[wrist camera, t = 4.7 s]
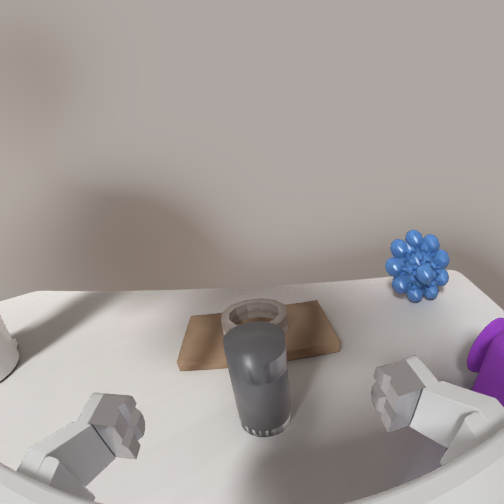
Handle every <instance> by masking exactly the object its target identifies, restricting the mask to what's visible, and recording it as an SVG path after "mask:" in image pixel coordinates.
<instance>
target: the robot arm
mask: <svg viewBox="0 0 504 504" xmlns="http://www.w3.org/2000/svg"><path fill="white" fill-rule="evenodd" d="M17 346H18V342H17V340H16V339H15V338H11V336H10V334H9V332H8V330H7V328H6V326H5V324H4V322H3V320H2V318H1V316H0V381H1V380H3V379H4V378H5V377H6V376H7V375H8V374H9V373H10V372H11V371H12V370H13V369H14V368H15V366H16V365H17V363H18V360H19V352H18V350H17ZM374 378H375V379H376V382H375V383H374V385H373V386H372V392H371V394H372V401H373V405H374V407H375V409H376V411H378V412H380V413H382V417H381V421H382V423H383V425H384V427H385V428H386V430H387V432H392V431H395V430H398V429H401V428H404V427H406V426H409V425H410V427H411V428H413V429H415V430H416V431H418V432H420V433H421V434H423V435H425V436H426V437H428V438H430V439H432V440H433V441H435V442H437V443H439V444H440V445H442V446H444V447H446V448H447V450H446V452H445V454H444V455H443V457H442V458H441V460H440V464H441V467H439V468H437V469H435V470H433V471H431V472H429V473H427V474H425V475H423V476H420V477H418V478H416V479H414V480H411V481H409V482H406V483H404V484H402V485H399V486H396V487H394V488H391V489H388V490H386V491H383V492H380V493H377V494H374V495H371V496H368V497H365V498H361V499H358V500H354V501H351V502H347V503H343V504H504V407H503V406H502V405H501V404H500V403H499V401H498V400H497V399H496V398H493V397H490V396H487V395H484V394H481V393H477V392H474V391H471V390H468V389H465V388H462V387H459V386H456V385H453V384H451V383H448V382H445V381H441V382H439V381H438V380H437V379H436V377H435V376H434V375H433V374H432V373H431V372H430V370H429V369H428V368H427V367H426V366H425V364H424V363H423V362H422V361H421V360H420V359H419V357H417V356H412V357H409V358H406V359H403V360H400V361H397V362H394V363H390V364H387V365H384V366H380V367H377V368H376V370H375V373H374ZM135 406H136V402H135V400H134V398H133V397H132V396H129V395H116V394H103V393H93V394H92V395H91V396H90V398H89V400H88V402H87V403H86V405H85V407H84V409H83V411H82V412H81V414H80V416H79V418H78V420H77V421H76V422H71V423H70V424H68V425H67V426H65V427H63V428H62V429H60V430H59V431H57V432H55V433H54V434H52V435H50V436H49V437H47V438H45V439H44V440H42V441H40V442H39V443H37V444H35V445H34V446H32V447H30V448H29V450H28V451H27V453H26V455H25V457H24V458H23V460H22V462H21V464H20V466H19V467H18V469H17V471H15V470H13V469H11V468H9V467H7V466H6V465H4V464H2V463H0V504H102V503H99V502H95V501H94V500H95V496H94V495H93V494H92V493H91V492H90V491H89V490H88V489H87V488H86V487H85V486H87V485H88V484H89V483H90V482H91V481H92V480H93V479H94V478H95V477H96V476H97V475H98V474H99V473H100V472H102V471H103V470H104V469H105V468H106V467H107V466H108V465H109V464H110V463H111V462H112V461H113V460H114V459H115V457H120V458H129V459H137V455H138V452H139V449H140V446H141V445H140V443H139V441H138V440H139V439H140V438H142V437H143V435H144V432H145V421H144V417H143V415H142V413H141V412H140V411H139V410H138V409H136V408H135Z"/></svg>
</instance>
